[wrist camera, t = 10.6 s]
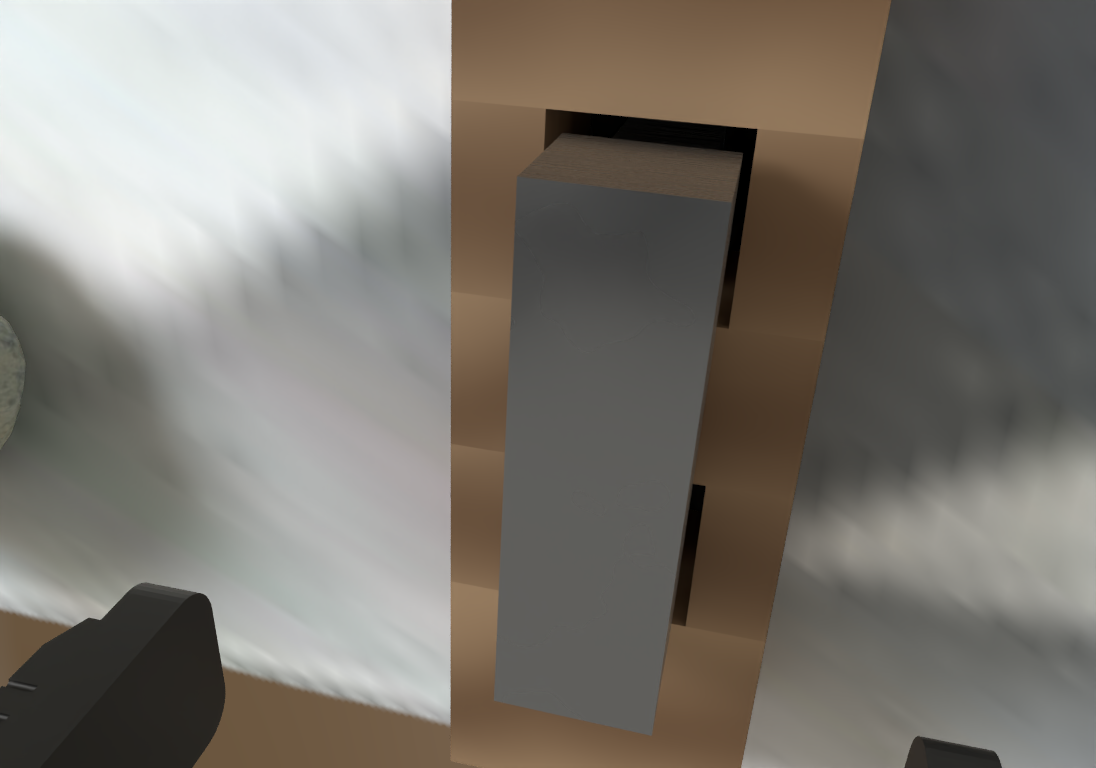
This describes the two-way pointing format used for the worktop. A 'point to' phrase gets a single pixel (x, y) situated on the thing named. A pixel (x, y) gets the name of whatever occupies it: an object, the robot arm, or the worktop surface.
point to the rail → (740, 342)
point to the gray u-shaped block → (606, 410)
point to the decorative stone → (10, 379)
